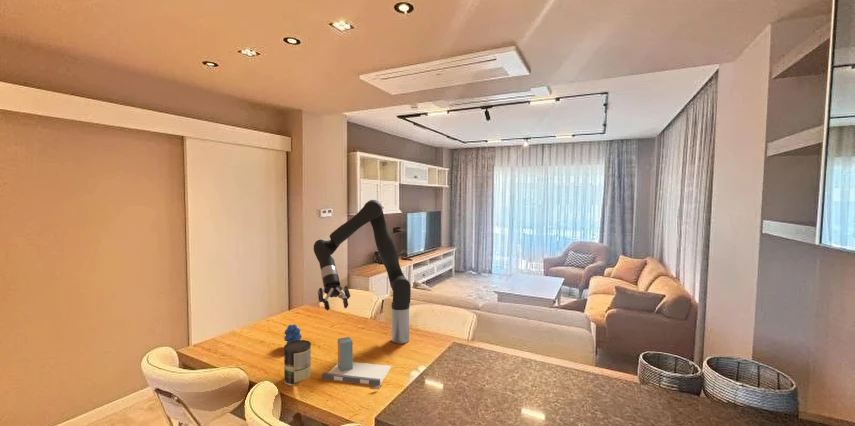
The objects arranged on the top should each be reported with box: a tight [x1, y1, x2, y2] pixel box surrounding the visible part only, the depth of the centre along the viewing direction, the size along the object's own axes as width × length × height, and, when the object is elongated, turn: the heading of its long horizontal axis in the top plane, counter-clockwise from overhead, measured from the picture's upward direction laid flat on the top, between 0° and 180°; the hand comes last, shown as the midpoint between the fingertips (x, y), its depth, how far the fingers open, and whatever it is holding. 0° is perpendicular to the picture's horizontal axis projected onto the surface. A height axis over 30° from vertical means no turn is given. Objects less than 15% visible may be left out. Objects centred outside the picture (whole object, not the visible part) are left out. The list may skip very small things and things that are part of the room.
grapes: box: [283, 323, 302, 344], centre depth 169 cm, size 12×7×12 cm, turn 59°
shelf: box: [321, 361, 393, 390], centre depth 141 cm, size 16×24×4 cm
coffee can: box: [283, 339, 312, 387], centre depth 138 cm, size 10×10×14 cm
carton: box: [337, 336, 354, 372], centre depth 145 cm, size 5×5×12 cm
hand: (337, 308), depth 154 cm, fingers open, 8 cm apart
